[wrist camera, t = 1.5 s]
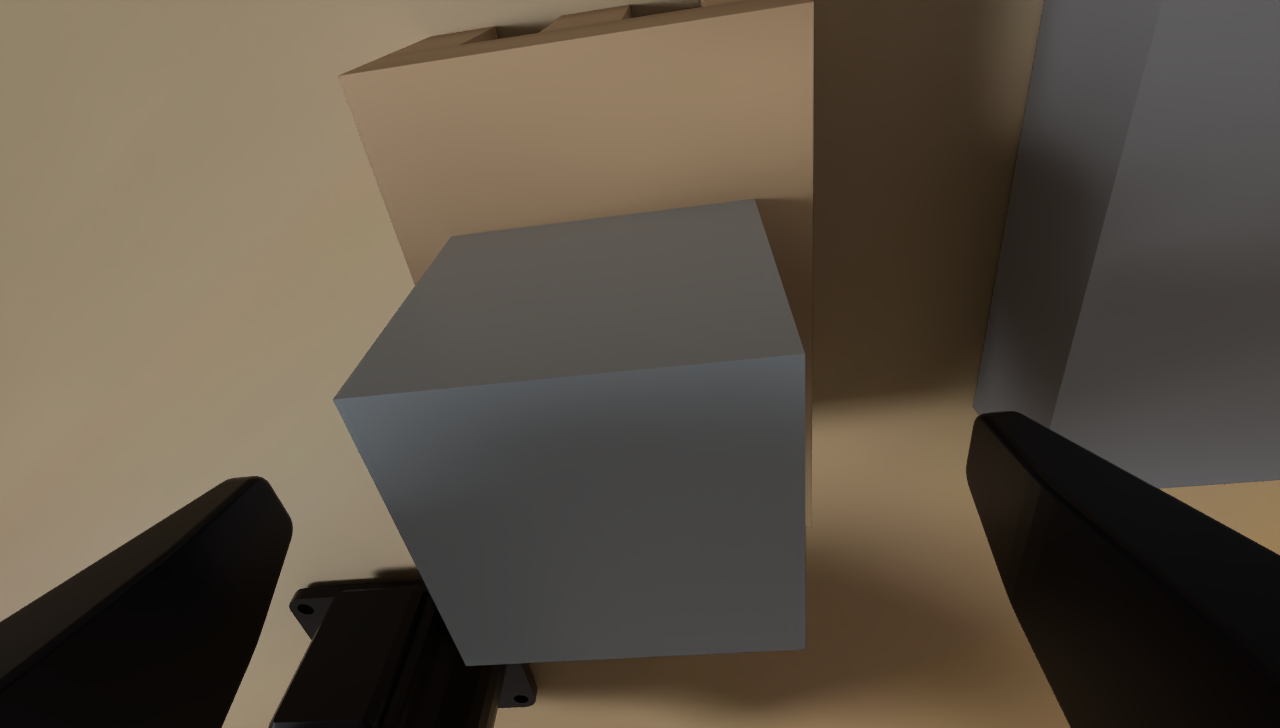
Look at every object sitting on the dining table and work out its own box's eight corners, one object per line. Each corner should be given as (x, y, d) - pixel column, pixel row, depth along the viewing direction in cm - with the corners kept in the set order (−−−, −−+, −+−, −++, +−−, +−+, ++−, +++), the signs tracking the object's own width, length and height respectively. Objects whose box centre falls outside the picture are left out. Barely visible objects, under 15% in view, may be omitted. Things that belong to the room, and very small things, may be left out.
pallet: (781, 403, 16) (811, 527, 13) (543, 424, 16) (512, 547, 13) (769, -19, 11) (813, 2, 8) (432, 36, 12) (336, 75, 8)
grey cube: (765, 440, 11) (806, 649, 8) (523, 460, 12) (466, 666, 8) (754, 198, 9) (804, 353, 6) (450, 235, 9) (333, 398, 6)
